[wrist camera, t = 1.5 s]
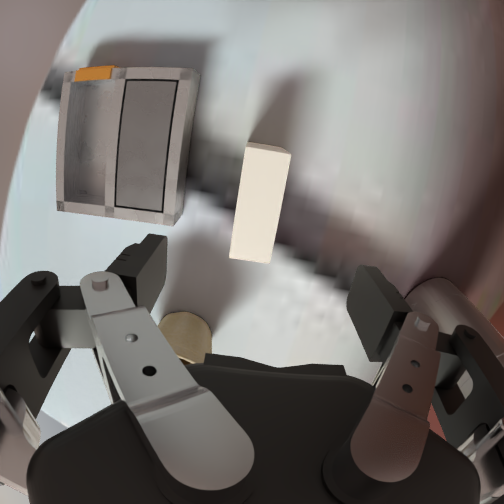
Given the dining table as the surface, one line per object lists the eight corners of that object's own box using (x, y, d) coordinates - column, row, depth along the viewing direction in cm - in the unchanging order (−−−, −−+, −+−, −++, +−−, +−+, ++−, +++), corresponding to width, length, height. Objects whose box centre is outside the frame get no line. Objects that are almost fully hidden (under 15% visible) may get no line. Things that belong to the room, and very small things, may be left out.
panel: (281, 147, 25) (291, 154, 19) (265, 231, 28) (269, 263, 22) (247, 141, 25) (245, 146, 19) (234, 226, 28) (228, 257, 22)
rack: (201, 72, 22) (193, 64, 19) (182, 214, 28) (172, 227, 24) (84, 73, 22) (64, 69, 18) (74, 200, 27) (55, 211, 24)
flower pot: (147, 353, 35) (128, 404, 27) (144, 291, 31) (116, 341, 23) (220, 365, 36) (214, 420, 28) (229, 304, 32) (223, 361, 24)
